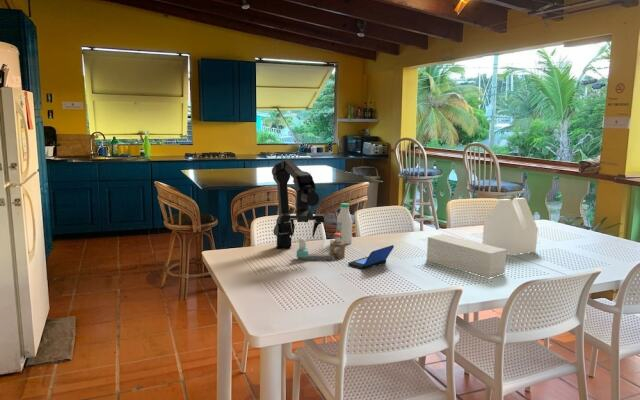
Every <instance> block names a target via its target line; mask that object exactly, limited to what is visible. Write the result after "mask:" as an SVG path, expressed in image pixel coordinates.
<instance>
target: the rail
mask: <svg viewBox="0 0 640 400" xmlns="http://www.w3.org/2000/svg"><path fill="white" fill-rule="evenodd" d="M297 261H335V258H334V254H330V253H308V257H297Z"/></svg>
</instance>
